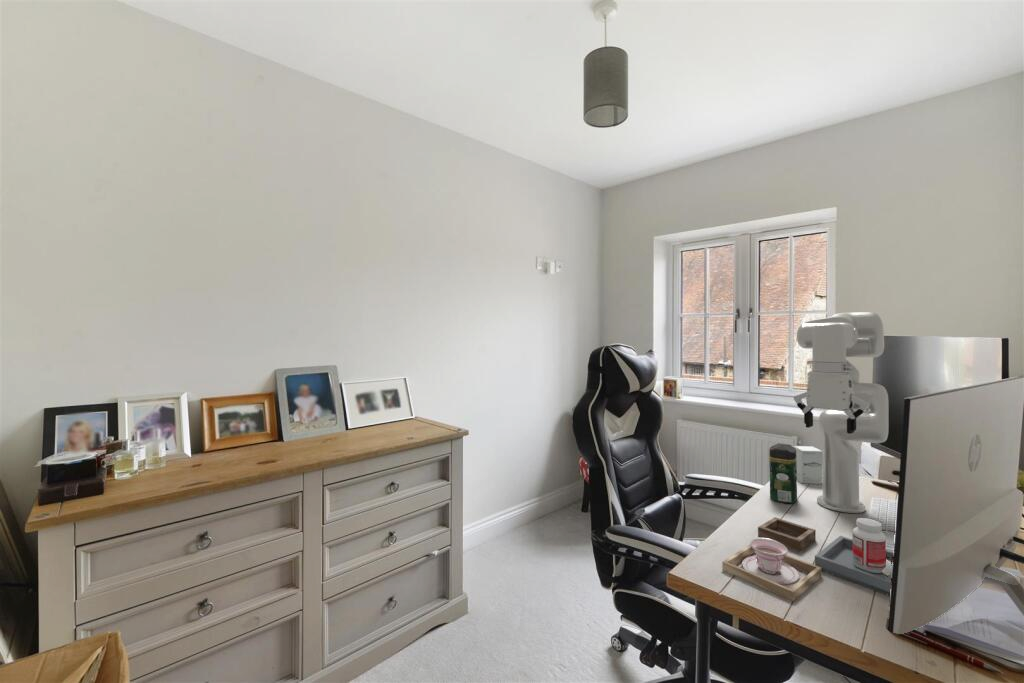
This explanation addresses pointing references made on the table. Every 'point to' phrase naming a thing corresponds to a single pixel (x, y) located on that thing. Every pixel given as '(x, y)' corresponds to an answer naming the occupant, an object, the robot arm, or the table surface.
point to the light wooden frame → (767, 584)
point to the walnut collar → (797, 544)
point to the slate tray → (851, 566)
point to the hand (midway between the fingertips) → (829, 429)
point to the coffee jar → (783, 473)
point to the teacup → (770, 561)
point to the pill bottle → (869, 546)
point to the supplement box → (809, 464)
